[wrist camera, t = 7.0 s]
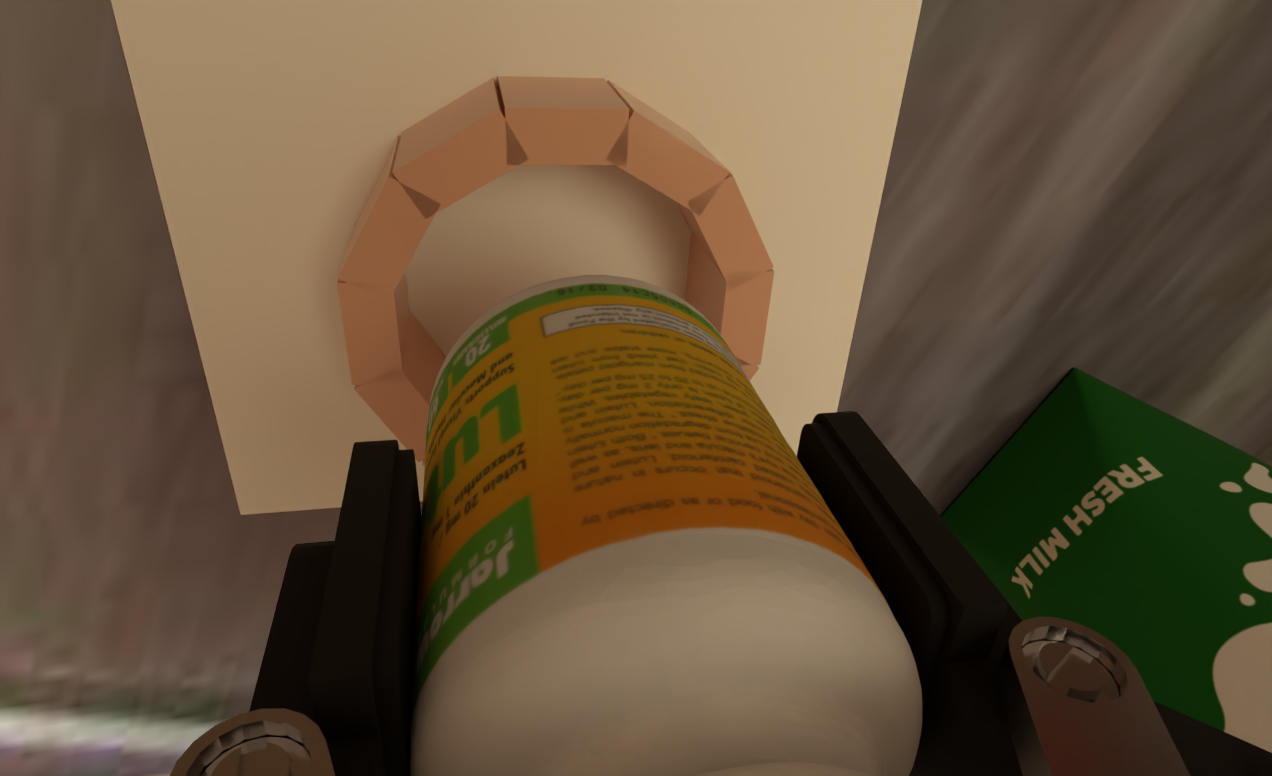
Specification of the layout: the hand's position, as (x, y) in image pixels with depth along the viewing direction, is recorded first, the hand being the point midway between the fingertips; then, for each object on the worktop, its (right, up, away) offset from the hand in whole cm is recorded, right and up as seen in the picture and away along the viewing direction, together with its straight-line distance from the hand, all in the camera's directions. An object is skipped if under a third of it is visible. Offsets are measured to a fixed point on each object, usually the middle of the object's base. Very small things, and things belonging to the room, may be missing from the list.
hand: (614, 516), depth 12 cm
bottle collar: (-2, +5, +7) cm, 9 cm away
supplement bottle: (-1, +2, +3) cm, 3 cm away
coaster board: (-2, +5, +9) cm, 10 cm away
